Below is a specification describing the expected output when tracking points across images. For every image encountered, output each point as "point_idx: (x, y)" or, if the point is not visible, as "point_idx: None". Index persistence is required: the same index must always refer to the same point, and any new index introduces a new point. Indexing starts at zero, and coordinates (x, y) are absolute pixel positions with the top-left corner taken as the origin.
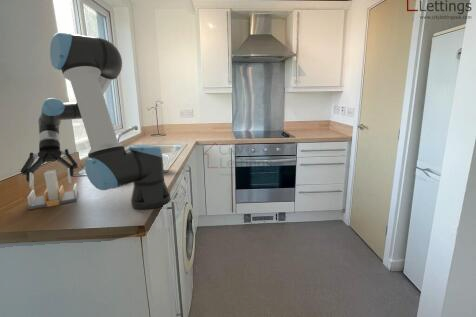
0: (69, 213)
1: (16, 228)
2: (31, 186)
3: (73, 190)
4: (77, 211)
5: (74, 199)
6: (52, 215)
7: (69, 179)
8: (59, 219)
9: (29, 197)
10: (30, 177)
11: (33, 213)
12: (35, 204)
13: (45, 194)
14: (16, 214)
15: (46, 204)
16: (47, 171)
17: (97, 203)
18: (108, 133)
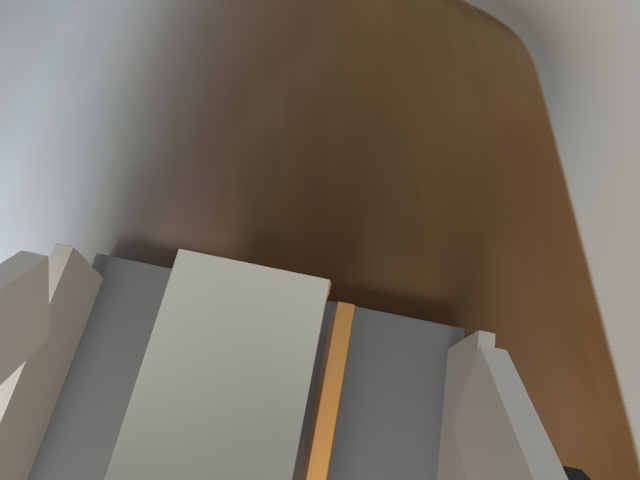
0: (216, 54)
1: (482, 49)
2: (483, 346)
3: (72, 249)
4: (168, 51)
5: (114, 259)
6: (308, 94)
7: (16, 262)
8: (281, 11)
9: (473, 349)
10: (547, 465)
11: (417, 219)
12: (413, 349)
13: (332, 332)
14: (526, 288)
15: (331, 302)
16: (253, 475)
17: (10, 94)
18: None
